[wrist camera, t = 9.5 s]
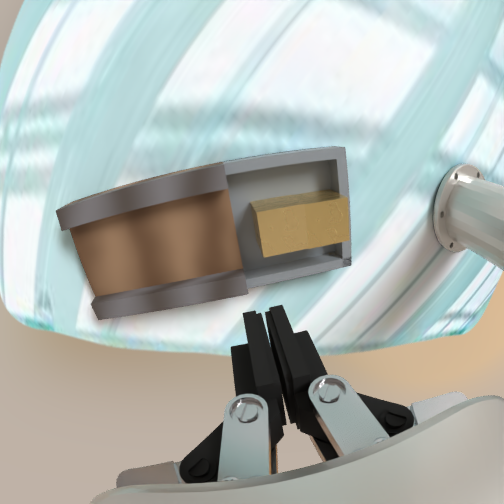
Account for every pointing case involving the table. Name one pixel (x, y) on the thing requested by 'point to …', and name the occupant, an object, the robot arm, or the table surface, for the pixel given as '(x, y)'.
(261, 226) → the golden wooden cube
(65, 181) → the table surface
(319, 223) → the tan cube
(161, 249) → the slot block
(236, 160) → the tray
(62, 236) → the table surface
